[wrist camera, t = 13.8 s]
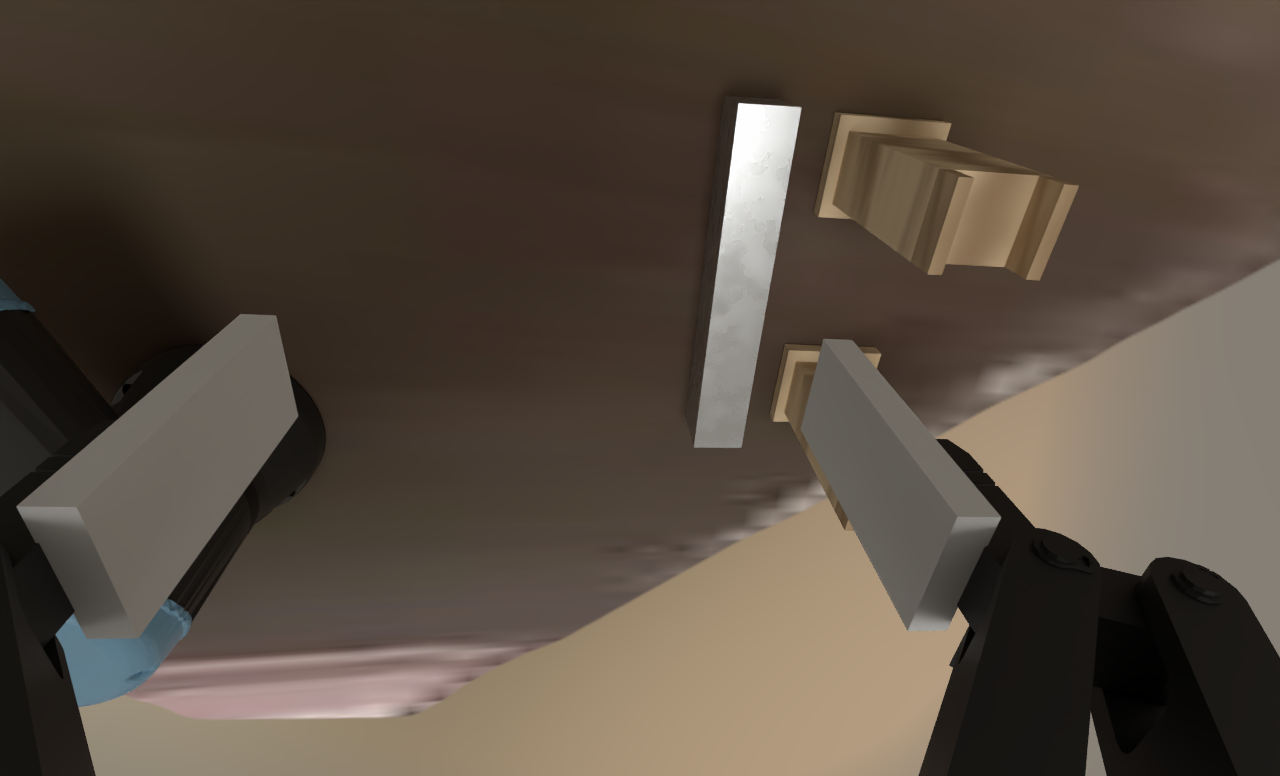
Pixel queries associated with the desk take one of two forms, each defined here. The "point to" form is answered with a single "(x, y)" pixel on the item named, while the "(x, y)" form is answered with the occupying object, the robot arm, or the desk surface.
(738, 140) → the rail
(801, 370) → the post
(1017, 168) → the post
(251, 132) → the desk surface
